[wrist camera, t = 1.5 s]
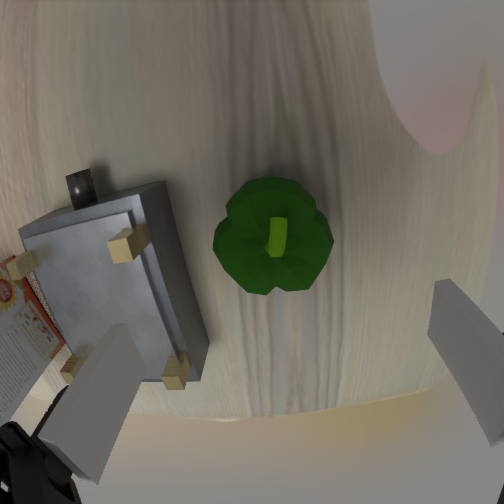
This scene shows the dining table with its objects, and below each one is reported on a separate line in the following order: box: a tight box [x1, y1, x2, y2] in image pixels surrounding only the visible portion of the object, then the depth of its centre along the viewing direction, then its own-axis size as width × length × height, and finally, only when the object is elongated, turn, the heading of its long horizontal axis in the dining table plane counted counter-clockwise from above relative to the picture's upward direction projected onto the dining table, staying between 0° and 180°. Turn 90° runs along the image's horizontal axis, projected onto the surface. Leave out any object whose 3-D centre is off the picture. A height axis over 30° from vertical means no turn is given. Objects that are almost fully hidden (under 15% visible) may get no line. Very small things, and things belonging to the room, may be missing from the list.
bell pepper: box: [213, 176, 334, 295], centre depth 22 cm, size 8×8×10 cm
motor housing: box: [6, 168, 210, 390], centre depth 25 cm, size 21×14×9 cm, turn 10°
